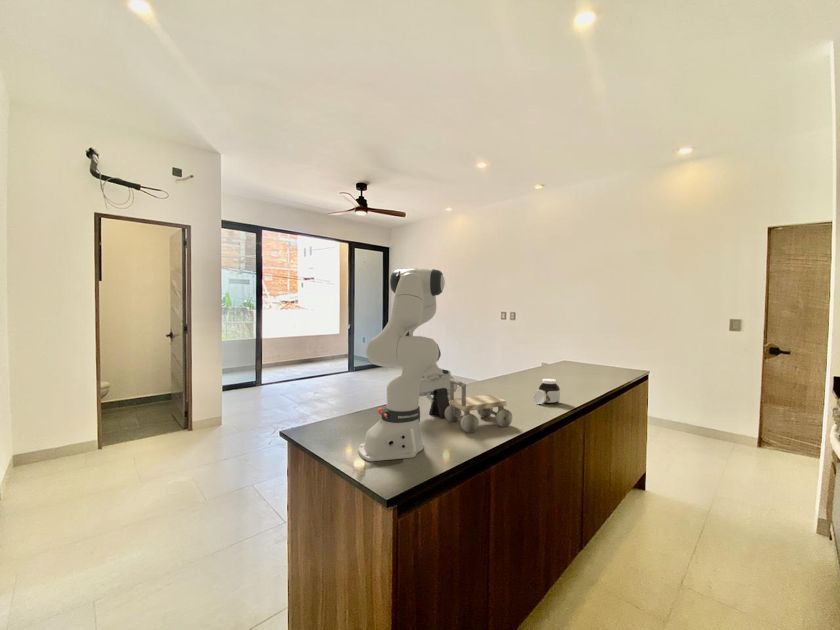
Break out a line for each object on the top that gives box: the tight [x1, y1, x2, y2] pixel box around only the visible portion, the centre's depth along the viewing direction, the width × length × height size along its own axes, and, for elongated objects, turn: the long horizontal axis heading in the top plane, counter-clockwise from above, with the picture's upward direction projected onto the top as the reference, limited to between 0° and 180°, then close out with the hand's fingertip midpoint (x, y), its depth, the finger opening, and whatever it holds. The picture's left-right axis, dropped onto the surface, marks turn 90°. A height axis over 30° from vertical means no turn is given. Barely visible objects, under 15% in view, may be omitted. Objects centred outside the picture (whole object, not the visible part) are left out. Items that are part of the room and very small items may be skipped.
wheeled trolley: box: [444, 378, 513, 434], centre depth 149 cm, size 23×16×19 cm
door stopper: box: [428, 388, 451, 420], centre depth 161 cm, size 9×6×12 cm, turn 40°
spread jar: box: [532, 378, 561, 405], centre depth 179 cm, size 12×11×12 cm
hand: (441, 401), depth 160 cm, fingers closed on door stopper, 6 cm apart
